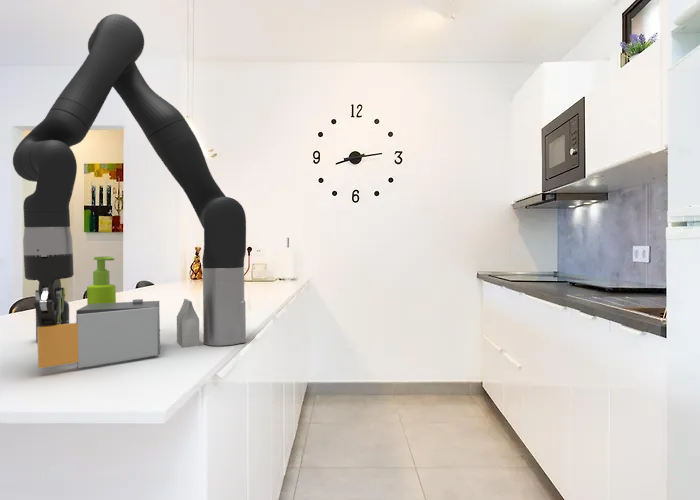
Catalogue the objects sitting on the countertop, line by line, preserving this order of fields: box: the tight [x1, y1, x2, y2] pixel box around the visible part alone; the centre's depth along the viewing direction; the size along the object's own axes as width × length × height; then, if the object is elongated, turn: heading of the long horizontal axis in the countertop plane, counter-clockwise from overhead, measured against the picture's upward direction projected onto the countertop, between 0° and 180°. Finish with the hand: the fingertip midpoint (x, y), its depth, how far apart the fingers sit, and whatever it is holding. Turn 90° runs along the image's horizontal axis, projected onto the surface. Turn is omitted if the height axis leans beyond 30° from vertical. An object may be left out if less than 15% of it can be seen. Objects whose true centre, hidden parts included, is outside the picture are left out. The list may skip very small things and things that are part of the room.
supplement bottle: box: [35, 299, 70, 343], centre depth 113 cm, size 7×7×12 cm
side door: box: [37, 306, 161, 369], centre depth 89 cm, size 21×1×10 cm, turn 131°
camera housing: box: [75, 298, 161, 358], centre depth 100 cm, size 14×13×11 cm
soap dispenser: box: [86, 255, 117, 305], centre depth 110 cm, size 6×7×20 cm
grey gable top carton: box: [176, 298, 201, 348], centre depth 108 cm, size 4×7×10 cm, turn 29°
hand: (52, 346), depth 86 cm, fingers closed
